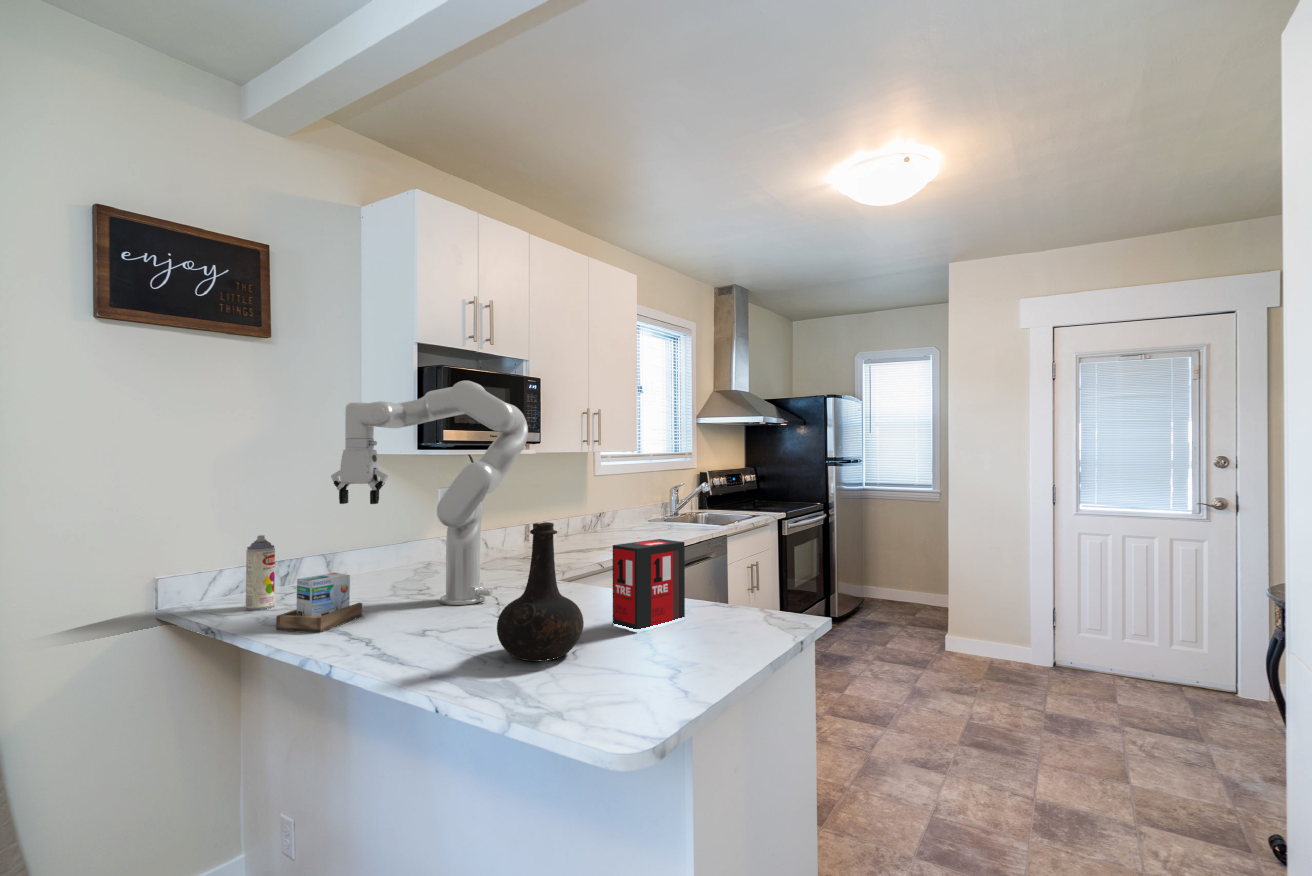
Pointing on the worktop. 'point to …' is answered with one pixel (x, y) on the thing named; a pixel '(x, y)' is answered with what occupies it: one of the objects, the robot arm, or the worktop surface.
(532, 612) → the glass bottle
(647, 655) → the worktop surface
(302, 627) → the tray
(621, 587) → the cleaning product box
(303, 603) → the light bulb box
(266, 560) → the aerosol can
